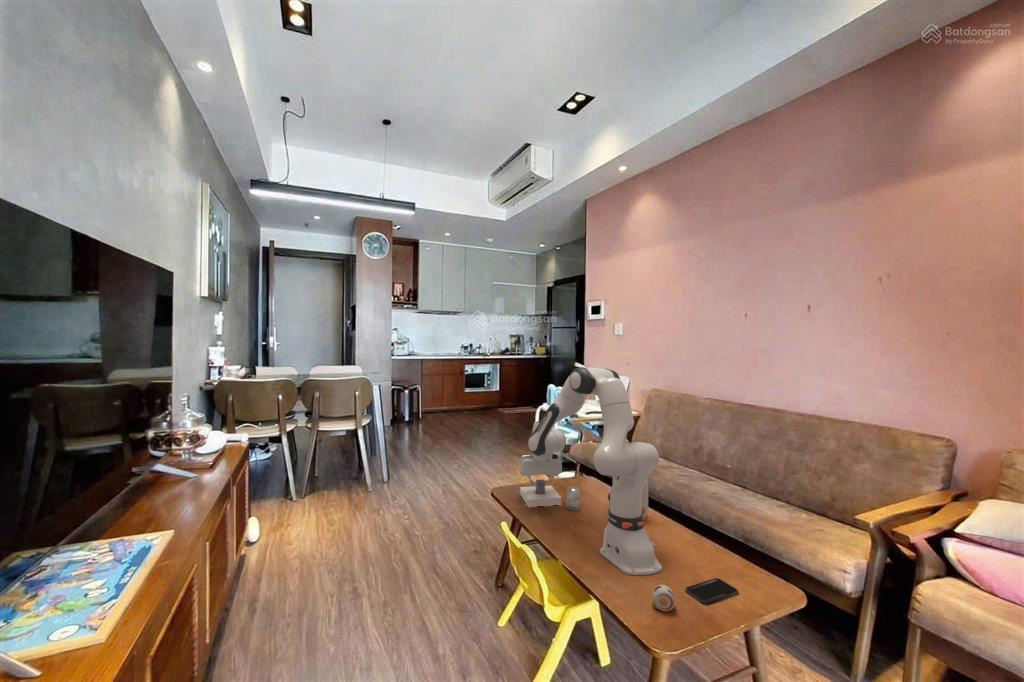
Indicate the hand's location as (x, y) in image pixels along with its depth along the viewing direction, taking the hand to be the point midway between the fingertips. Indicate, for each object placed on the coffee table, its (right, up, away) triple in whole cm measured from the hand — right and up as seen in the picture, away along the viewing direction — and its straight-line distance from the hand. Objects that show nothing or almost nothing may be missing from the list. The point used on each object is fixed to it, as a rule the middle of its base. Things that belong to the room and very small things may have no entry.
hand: (540, 483), depth 193 cm
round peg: (+14, -8, -9) cm, 18 cm away
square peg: (0, -8, 0) cm, 8 cm away
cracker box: (+37, -9, -19) cm, 42 cm away
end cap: (+36, -9, -7) cm, 38 cm away
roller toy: (+30, -9, -77) cm, 83 cm away
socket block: (0, -8, 0) cm, 8 cm away
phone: (+47, -9, -69) cm, 84 cm away
